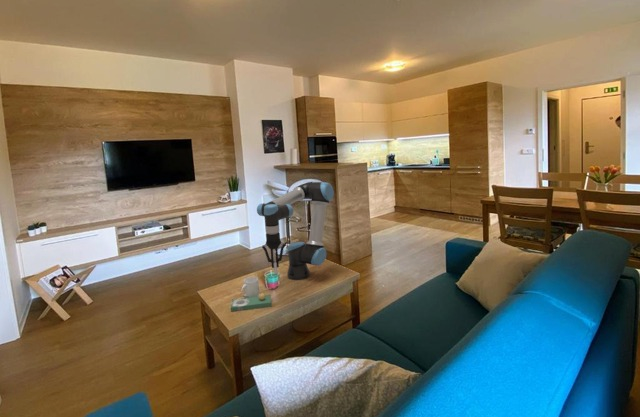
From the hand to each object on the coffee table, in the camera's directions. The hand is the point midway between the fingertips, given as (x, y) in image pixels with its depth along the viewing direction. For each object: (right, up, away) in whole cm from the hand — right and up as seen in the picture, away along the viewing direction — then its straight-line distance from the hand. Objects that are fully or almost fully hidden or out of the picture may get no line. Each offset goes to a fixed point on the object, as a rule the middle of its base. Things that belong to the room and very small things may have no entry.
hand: (275, 272), depth 190 cm
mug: (-17, -17, +11) cm, 26 cm away
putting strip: (-14, -18, +1) cm, 23 cm away
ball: (-8, -14, +1) cm, 16 cm away
